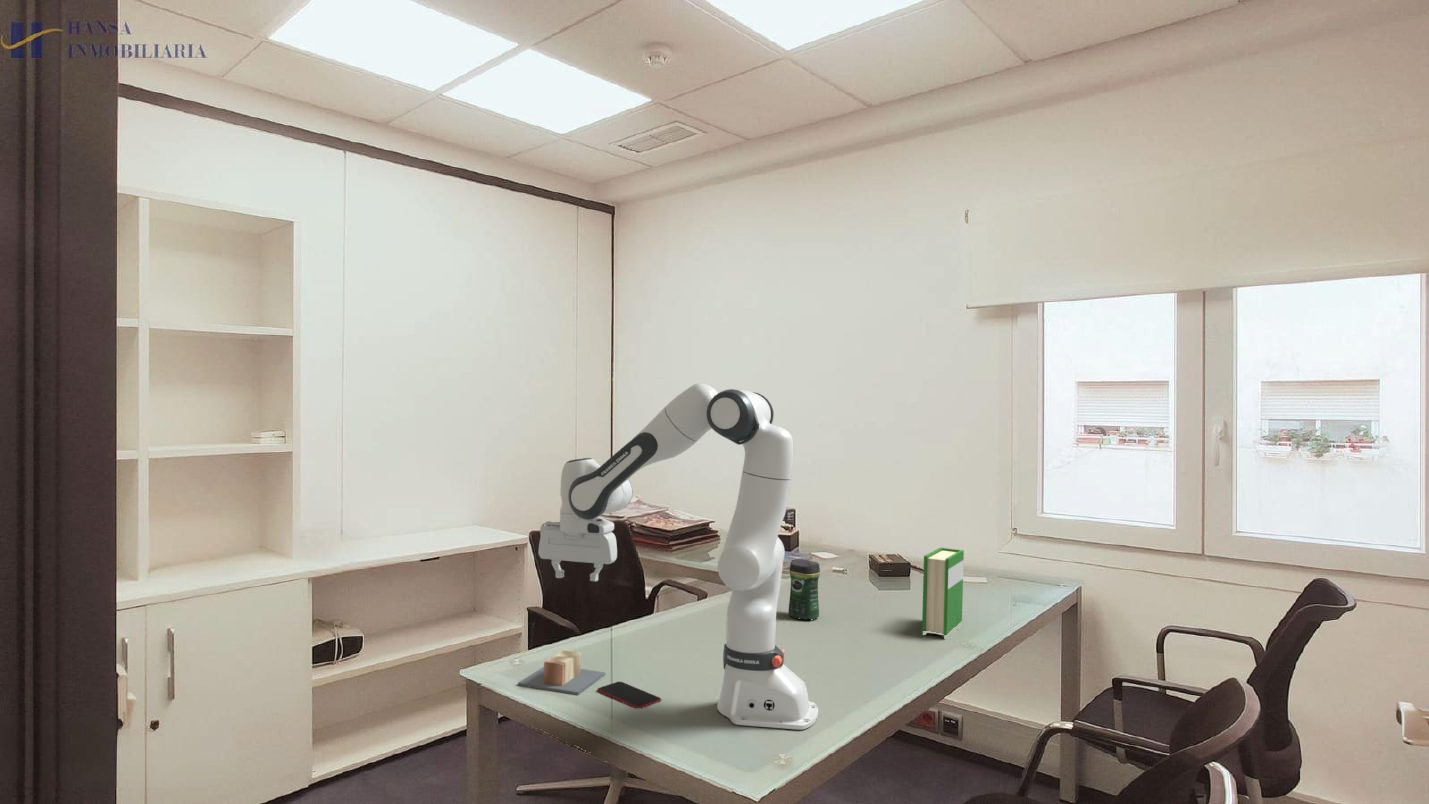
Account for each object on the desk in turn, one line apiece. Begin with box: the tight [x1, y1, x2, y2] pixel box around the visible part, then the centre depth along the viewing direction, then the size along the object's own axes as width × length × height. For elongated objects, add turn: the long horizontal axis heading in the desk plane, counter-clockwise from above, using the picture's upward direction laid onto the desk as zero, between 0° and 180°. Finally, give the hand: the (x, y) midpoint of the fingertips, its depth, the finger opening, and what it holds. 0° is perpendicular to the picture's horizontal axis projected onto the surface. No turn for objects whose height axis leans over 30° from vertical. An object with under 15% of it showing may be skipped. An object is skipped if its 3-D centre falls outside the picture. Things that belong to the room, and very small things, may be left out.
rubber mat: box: [517, 666, 606, 696], centre depth 184 cm, size 16×14×1 cm
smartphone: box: [597, 681, 662, 709], centre depth 175 cm, size 7×1×15 cm
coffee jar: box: [787, 558, 821, 620], centre depth 244 cm, size 10×8×19 cm
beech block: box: [543, 650, 582, 686], centre depth 183 cm, size 5×5×9 cm
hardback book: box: [921, 547, 965, 635], centre depth 234 cm, size 18×7×24 cm, turn 148°
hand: (576, 579), depth 187 cm, fingers open, 8 cm apart
